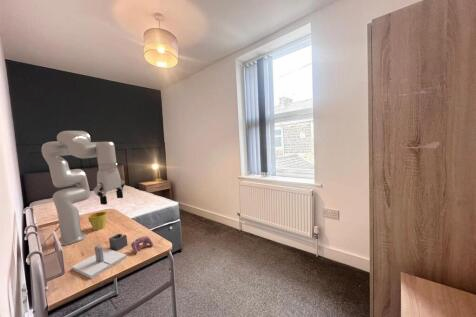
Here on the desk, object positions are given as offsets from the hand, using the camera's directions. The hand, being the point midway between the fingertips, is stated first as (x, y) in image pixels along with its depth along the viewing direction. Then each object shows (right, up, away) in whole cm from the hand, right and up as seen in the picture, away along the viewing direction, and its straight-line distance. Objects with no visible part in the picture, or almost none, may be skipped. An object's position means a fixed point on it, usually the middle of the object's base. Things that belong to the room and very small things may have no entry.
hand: (112, 200), depth 98 cm
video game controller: (+11, -28, +8) cm, 31 cm away
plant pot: (-33, -27, +37) cm, 56 cm away
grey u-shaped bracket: (-4, -28, +11) cm, 30 cm away
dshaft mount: (-4, -30, -3) cm, 30 cm away
